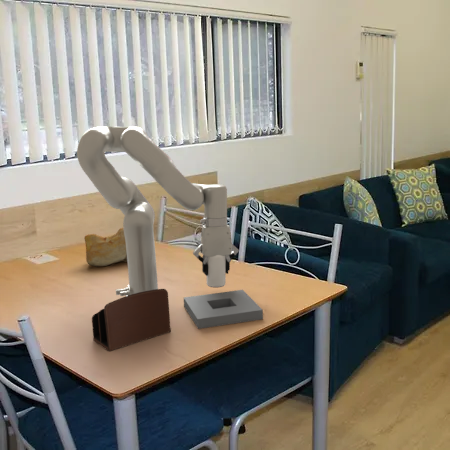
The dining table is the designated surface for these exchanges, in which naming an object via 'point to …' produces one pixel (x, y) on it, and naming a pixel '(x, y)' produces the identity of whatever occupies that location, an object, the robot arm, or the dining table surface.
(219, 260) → the can
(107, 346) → the letter holder
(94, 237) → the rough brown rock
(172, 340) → the dining table surface
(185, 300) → the socket block
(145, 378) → the dining table surface
